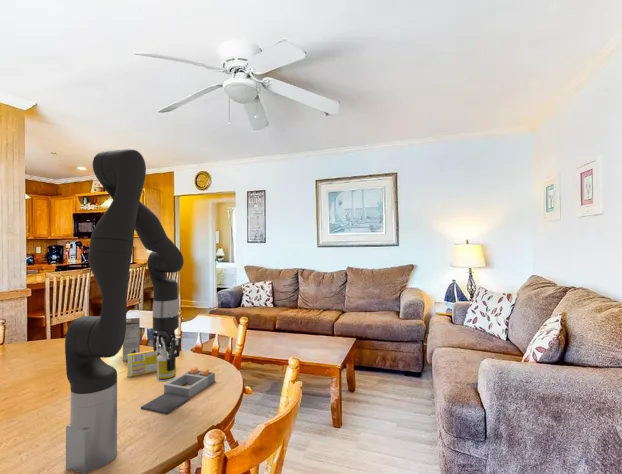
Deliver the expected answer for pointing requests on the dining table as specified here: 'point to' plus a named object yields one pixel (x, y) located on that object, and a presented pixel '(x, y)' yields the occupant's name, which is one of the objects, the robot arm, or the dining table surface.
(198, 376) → the frame
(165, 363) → the supplement bottle
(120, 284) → the robot arm
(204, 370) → the plunger
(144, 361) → the candy box
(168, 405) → the mat
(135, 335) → the coffee box
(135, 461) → the dining table surface
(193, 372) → the plunger
